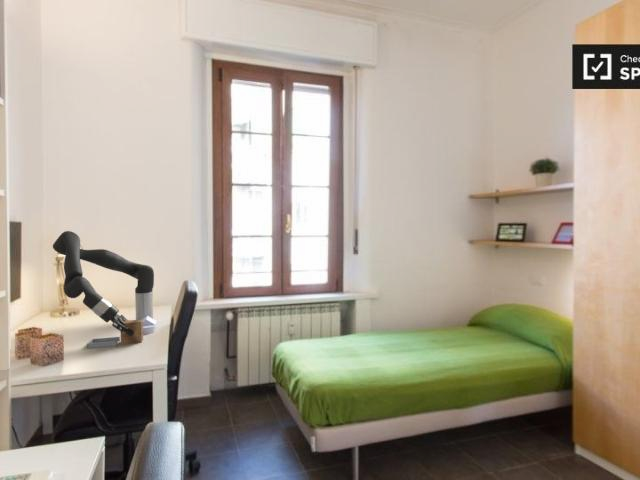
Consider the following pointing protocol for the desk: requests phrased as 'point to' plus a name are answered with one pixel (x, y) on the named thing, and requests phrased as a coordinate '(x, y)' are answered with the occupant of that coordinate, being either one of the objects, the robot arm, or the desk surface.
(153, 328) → the wedge on round base
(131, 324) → the walnut block
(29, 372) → the desk surface
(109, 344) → the grey open-top box
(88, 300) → the robot arm
